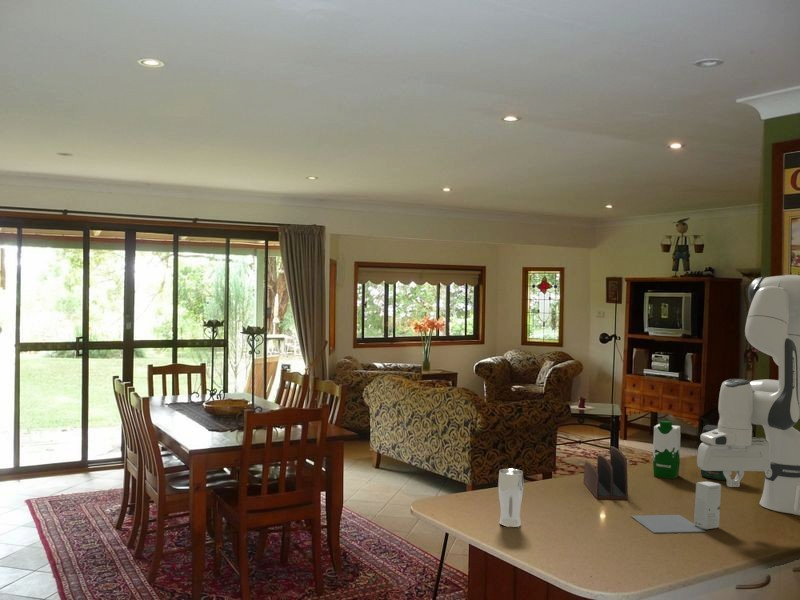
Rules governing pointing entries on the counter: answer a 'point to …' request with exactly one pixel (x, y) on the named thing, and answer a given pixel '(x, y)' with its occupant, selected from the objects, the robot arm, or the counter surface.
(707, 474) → the coffee jar
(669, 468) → the milk carton
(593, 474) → the letter holder
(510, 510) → the beer glass
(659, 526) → the slate mat
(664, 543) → the counter surface
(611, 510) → the counter surface
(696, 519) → the skincare box
